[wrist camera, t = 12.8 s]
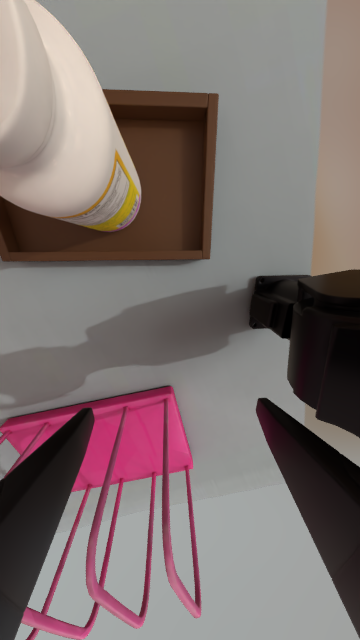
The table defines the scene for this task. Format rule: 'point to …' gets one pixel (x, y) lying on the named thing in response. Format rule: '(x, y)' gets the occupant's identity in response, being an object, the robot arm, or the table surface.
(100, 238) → the tray
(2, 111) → the supplement bottle
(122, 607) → the file sorter
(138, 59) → the table surface
